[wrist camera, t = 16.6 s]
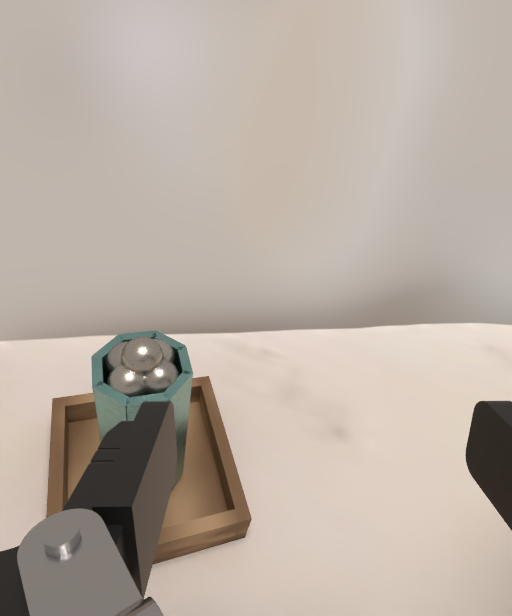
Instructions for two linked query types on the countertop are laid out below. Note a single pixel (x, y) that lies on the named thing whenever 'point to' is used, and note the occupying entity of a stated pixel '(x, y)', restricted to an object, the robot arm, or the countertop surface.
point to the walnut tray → (188, 490)
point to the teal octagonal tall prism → (142, 382)
